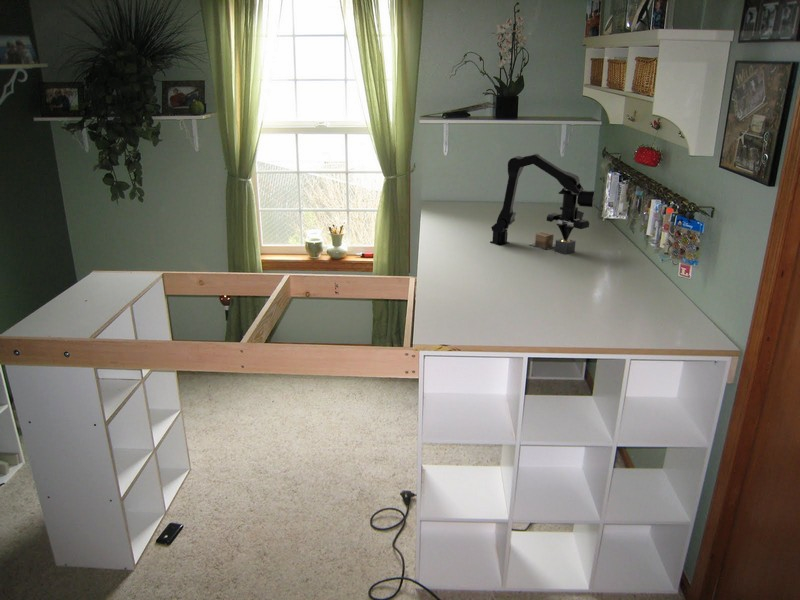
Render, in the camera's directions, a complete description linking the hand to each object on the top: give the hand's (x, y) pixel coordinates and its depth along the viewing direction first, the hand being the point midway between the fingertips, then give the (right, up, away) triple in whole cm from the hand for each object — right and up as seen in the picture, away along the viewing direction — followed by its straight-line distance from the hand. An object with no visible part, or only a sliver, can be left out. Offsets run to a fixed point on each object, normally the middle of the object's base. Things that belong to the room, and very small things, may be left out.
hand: (565, 240), depth 282 cm
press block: (0, -5, +2) cm, 5 cm away
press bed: (-7, -2, +10) cm, 13 cm away
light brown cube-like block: (-7, -1, +10) cm, 13 cm away
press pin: (0, -5, +2) cm, 5 cm away
